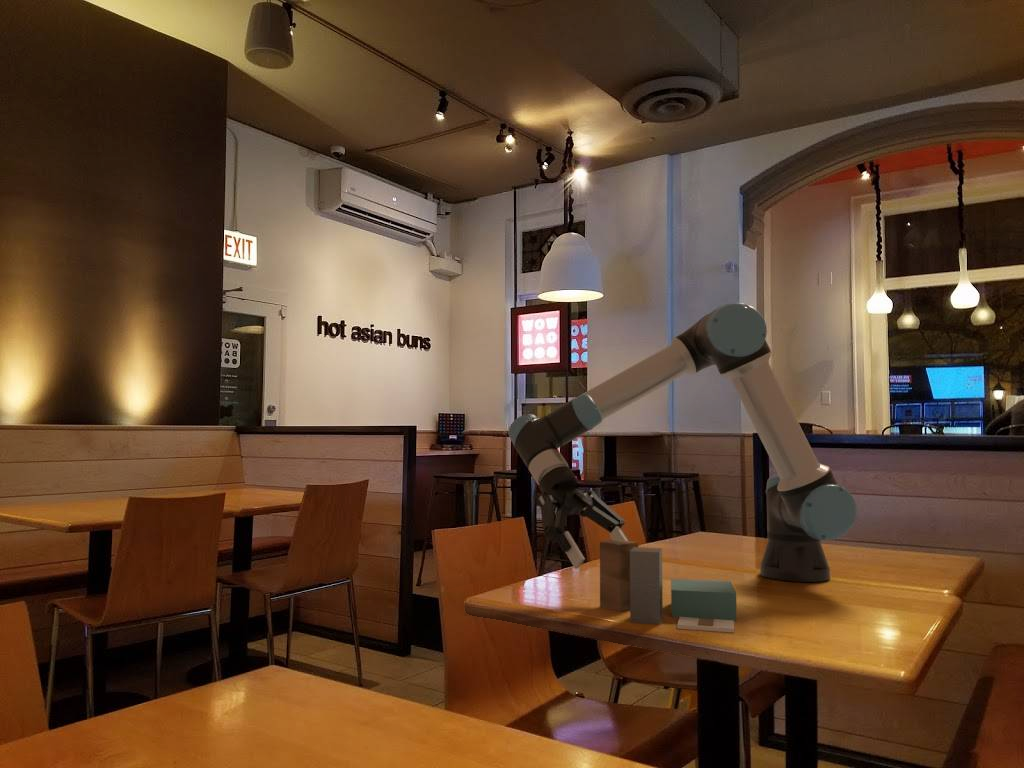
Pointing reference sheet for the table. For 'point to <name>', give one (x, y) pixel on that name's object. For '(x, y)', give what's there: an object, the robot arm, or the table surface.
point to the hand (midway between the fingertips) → (606, 560)
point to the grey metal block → (646, 585)
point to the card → (706, 624)
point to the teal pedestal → (703, 599)
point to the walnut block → (615, 574)
